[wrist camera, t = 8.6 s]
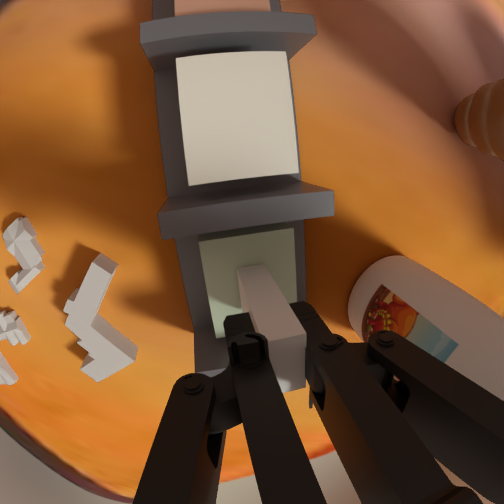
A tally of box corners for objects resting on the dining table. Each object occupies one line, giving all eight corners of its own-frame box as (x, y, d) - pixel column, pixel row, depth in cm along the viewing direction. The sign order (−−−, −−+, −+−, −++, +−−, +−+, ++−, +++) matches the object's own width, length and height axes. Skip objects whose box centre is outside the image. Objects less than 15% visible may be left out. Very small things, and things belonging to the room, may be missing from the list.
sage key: (281, 218, 17) (293, 228, 15) (286, 304, 19) (297, 323, 17) (198, 230, 17) (198, 242, 14) (213, 317, 19) (216, 338, 17)
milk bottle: (381, 235, 21) (609, 388, 2) (428, 275, 23) (590, 397, 4) (326, 318, 22) (482, 533, 3) (382, 342, 24) (510, 494, 6)
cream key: (273, 65, 13) (285, 51, 11) (284, 170, 15) (298, 172, 13) (179, 72, 12) (175, 58, 10) (190, 181, 14) (188, 185, 12)
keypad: (266, -42, 12) (286, -84, 7) (302, 315, 21) (330, 360, 16) (155, -36, 11) (147, -80, 6) (197, 334, 20) (199, 386, 15)
